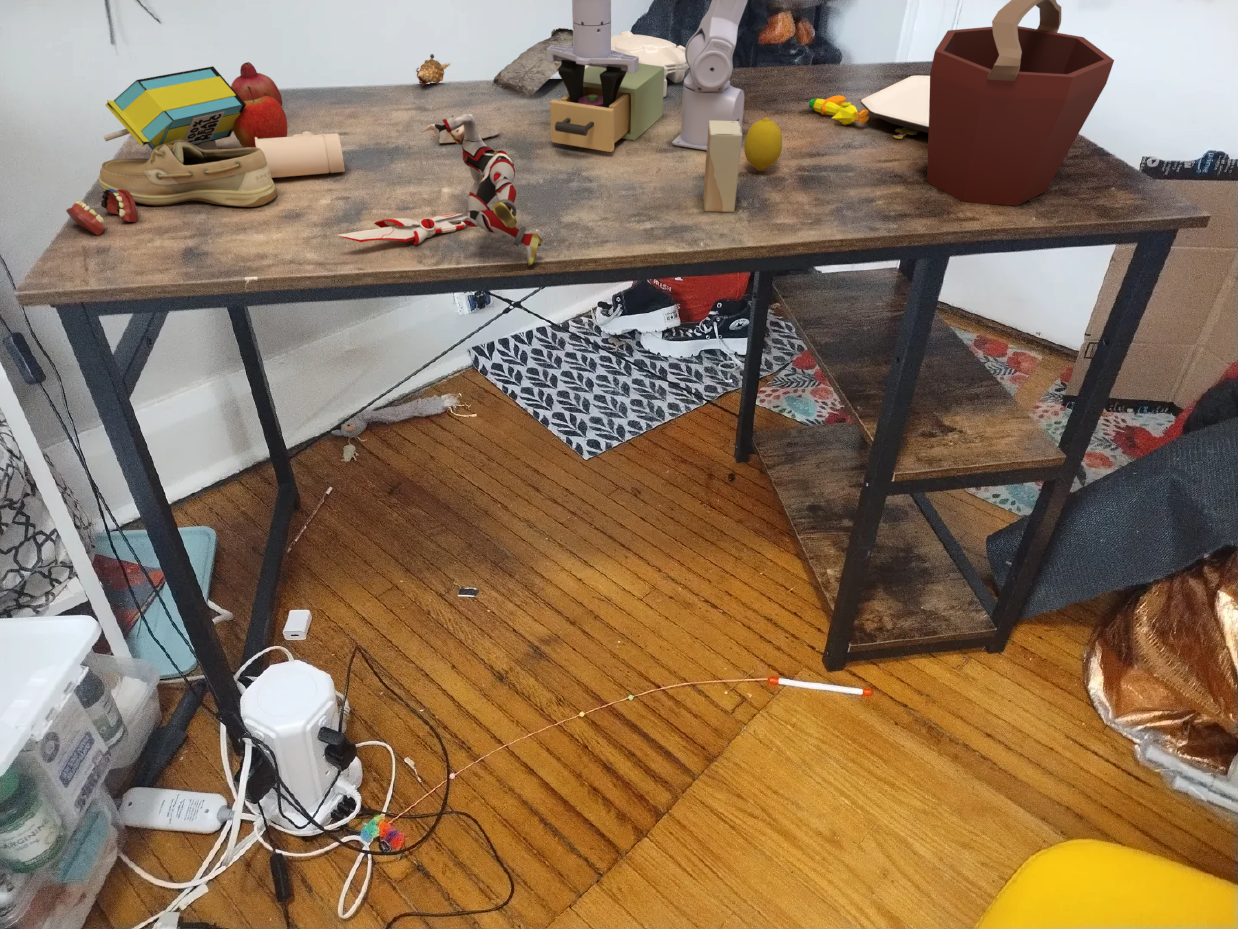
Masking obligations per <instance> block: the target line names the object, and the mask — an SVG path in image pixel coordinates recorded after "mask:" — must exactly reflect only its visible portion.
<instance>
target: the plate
mask: <svg viewBox="0 0 1238 929" xmlns="http://www.w3.org/2000/svg"><path fill="white" fill-rule="evenodd" d="M929 98H930V75H922V74H921V75H916V74H914V75H911V76H908V77H906V78H904V79H902V80H900V81H898V82H895V83H894V84H891V85H890V86H887V87H885V88H883V89H881V90H878V91H876V92H874V93H872V94H870V95H868V96H866V97H864V98H862V99H861V100H860V104H861V105H862V106H863V107H864V109H865V110H868V113H870V114H871V115H873V116H875V117H877V118H878V119H881V120H883V121H885V122H887V123H889V124H892V125H895V126H900V127H902V128H903V127H907V128H911V129H914V130H918V131H921V132H922V133H926V134H929Z"/></svg>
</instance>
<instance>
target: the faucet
mask: <svg viewBox="0 0 1238 929" xmlns="http://www.w3.org/2000/svg"><path fill="white" fill-rule="evenodd" d="M255 144H256V148H260V149H261V150H262V151H263V153H264V155H265V158H266V162H267V166H268V168H269V171H270V174H271V179H274V178H275V179H276V178H287V177H297V176H298V177H299V176H310V175H311V176H312V175H321V174H322V175H323V174H329V173H330V174H333V173H344V172H346V170H345V163H344V156H343V150H342V144H341V139H340V134H339V133H338V132H337V133H336V132H335V133H324V134H321V133H320V134H314V133H313V132H311V131H308V130H305V131H302V132H301V133H298V134H292V135H291V136H287V137H279V138H265V139H258V138H257V137H255Z"/></svg>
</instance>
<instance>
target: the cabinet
mask: <svg viewBox="0 0 1238 929" xmlns="http://www.w3.org/2000/svg"><path fill="white" fill-rule="evenodd" d="M604 71H606V68H601V67H594V66H589V67H587V68H586V69H585V72H584V81H583V87H589V88H596V89H602V85H601V80H600V74H601V73H602V72H604ZM663 89H664V67H662V66H655V65H648V64H640V63H639V68H638V71H636V72H635V73H628V71H627V73H626V75H625V77H624V79H623V81H622V83H621V85H620V88H619V90H618V92H623V93H630V94H631V129H630V130H629V131H628V132H627V133H626V134H625V135H623V136H622V137H621V138H620V139H622V140H629V141H636V140H638V138H640V137H641V135H643V134H644V133H645V132H646V131H647V130H648V129H649V128H651V127H652V126H653V125H654V124H655V123H657V122H658V120H660V119H661V118H662V117H663V114H664V113H663V111H664V97H663Z"/></svg>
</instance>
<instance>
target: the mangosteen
mask: <svg viewBox="0 0 1238 929" xmlns="http://www.w3.org/2000/svg"><path fill="white" fill-rule="evenodd" d="M578 103H580V104H586V105H593V106H599V107H603V96H598V95H594V94H591V95H588V96H583V97H581V98H579V100H578Z"/></svg>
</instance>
